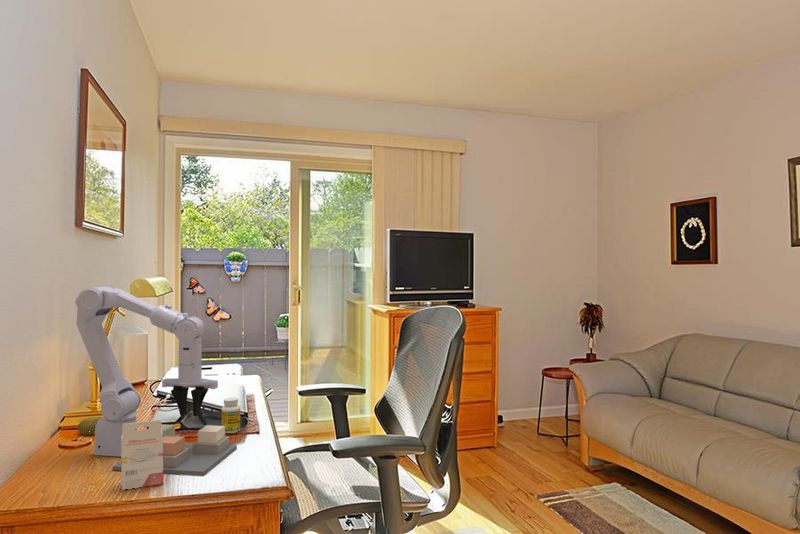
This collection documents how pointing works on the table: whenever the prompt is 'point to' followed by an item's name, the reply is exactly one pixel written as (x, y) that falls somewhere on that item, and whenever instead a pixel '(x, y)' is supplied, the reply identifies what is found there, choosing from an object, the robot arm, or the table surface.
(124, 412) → the robot arm
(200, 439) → the cream button
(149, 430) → the ink cartridge box
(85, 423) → the sculpture
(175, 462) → the board
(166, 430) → the sage button
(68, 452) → the table surface
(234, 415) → the supplement bottle
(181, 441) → the terracotta button
